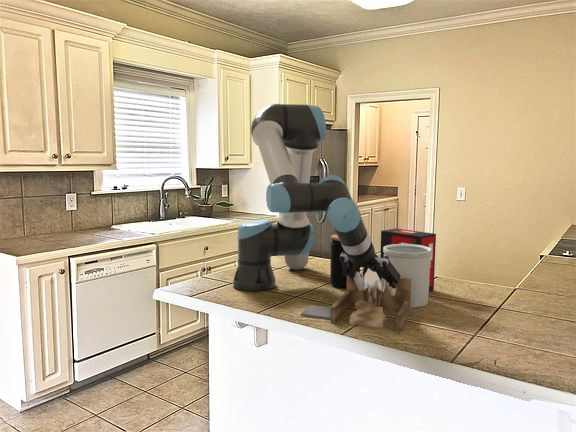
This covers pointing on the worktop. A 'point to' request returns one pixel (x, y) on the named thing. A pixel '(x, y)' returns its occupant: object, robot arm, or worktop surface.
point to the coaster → (317, 312)
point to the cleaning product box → (411, 238)
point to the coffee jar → (338, 264)
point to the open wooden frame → (396, 302)
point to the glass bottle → (297, 261)
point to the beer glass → (373, 287)
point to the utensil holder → (412, 268)
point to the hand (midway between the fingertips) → (377, 289)
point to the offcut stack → (368, 315)
